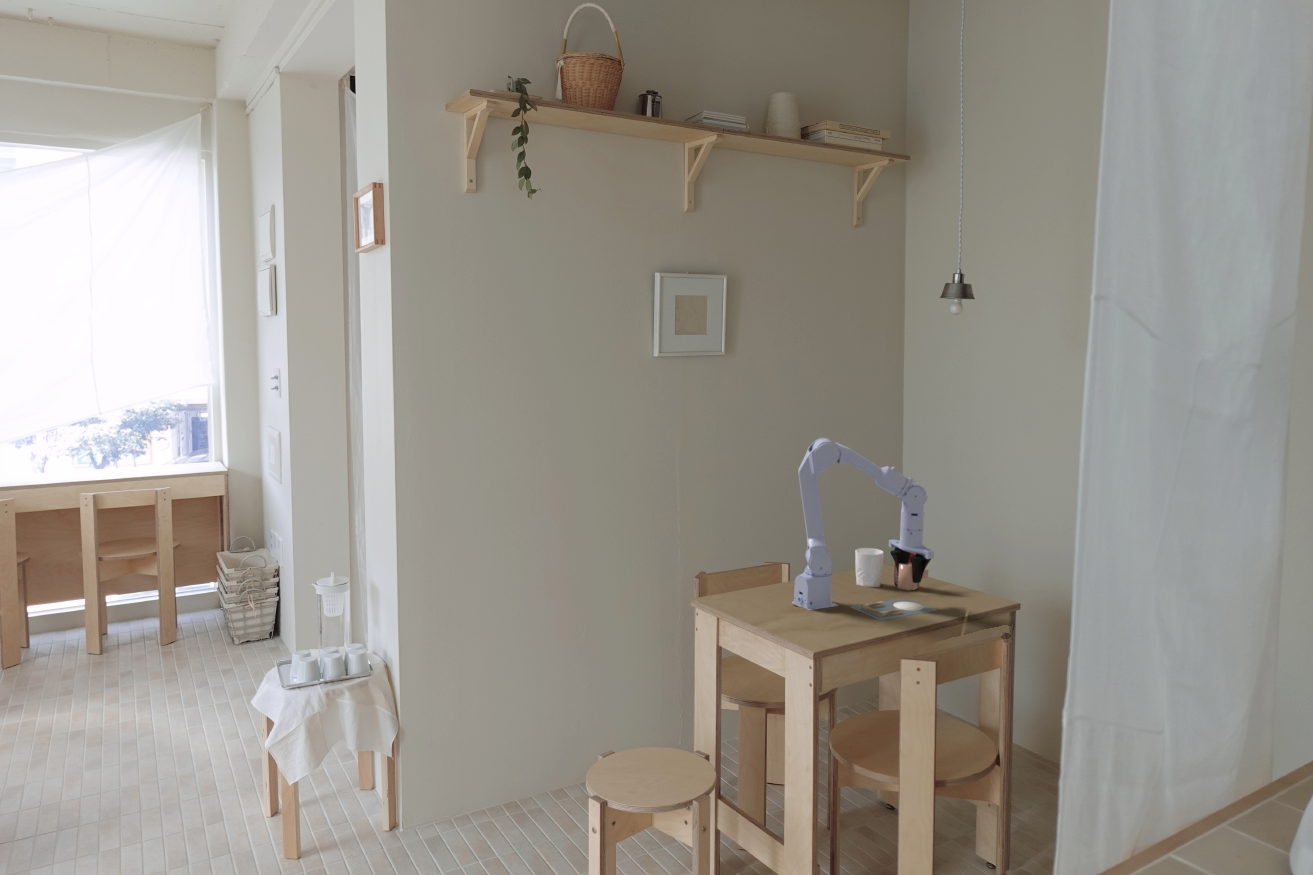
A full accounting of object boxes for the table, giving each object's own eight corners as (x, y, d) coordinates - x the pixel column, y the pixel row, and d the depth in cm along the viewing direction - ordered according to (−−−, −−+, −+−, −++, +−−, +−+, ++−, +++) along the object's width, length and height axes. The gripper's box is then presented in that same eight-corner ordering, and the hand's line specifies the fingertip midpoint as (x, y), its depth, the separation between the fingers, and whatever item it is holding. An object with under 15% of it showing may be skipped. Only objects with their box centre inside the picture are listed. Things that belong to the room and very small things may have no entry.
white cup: (875, 590, 251) (876, 555, 250) (849, 585, 255) (850, 551, 254) (886, 584, 257) (888, 550, 256) (861, 579, 262) (862, 546, 261)
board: (881, 622, 223) (881, 620, 223) (849, 609, 234) (849, 606, 234) (937, 612, 232) (937, 610, 232) (905, 599, 242) (905, 597, 242)
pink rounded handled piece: (908, 590, 231) (909, 567, 230) (894, 586, 235) (895, 563, 234) (932, 585, 236) (933, 563, 235) (918, 581, 240) (919, 559, 239)
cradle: (880, 616, 226) (880, 612, 226) (860, 608, 232) (860, 604, 232) (901, 613, 229) (901, 609, 229) (881, 604, 236) (881, 601, 235)
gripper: (943, 532, 228) (941, 584, 230) (903, 521, 241) (901, 571, 242) (923, 535, 225) (920, 588, 226) (883, 524, 237) (881, 574, 239)
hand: (909, 579), depth 234 cm, fingers closed on pink rounded handled piece, 5 cm apart
